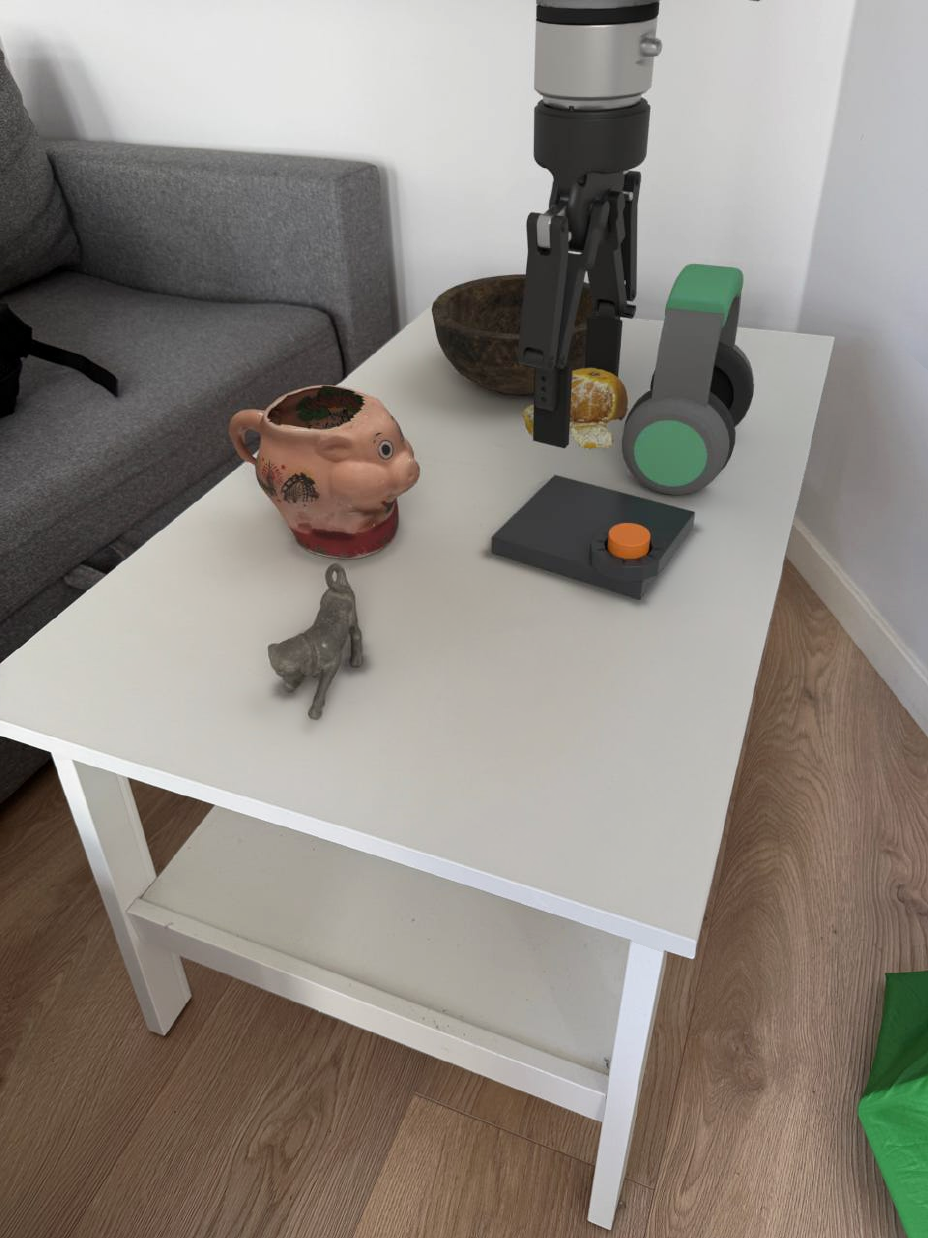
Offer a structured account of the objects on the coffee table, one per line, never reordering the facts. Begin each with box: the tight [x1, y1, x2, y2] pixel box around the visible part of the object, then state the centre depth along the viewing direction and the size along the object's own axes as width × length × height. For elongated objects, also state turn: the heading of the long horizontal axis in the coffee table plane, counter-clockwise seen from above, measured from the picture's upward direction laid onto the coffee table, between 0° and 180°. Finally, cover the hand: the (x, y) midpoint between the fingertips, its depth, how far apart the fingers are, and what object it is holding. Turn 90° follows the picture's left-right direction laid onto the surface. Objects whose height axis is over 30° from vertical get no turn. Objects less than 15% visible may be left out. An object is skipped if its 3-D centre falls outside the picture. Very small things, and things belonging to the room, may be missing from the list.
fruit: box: [522, 368, 629, 450], centre depth 72 cm, size 8×8×4 cm
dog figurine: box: [267, 562, 364, 721], centre depth 71 cm, size 12×6×7 cm, turn 164°
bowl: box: [431, 273, 598, 396], centre depth 112 cm, size 22×22×10 cm
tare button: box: [608, 523, 650, 559], centre depth 80 cm, size 4×4×2 cm
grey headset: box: [621, 263, 755, 496], centre depth 93 cm, size 19×11×20 cm, turn 157°
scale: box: [491, 474, 696, 600], centre depth 86 cm, size 16×14×4 cm
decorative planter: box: [227, 384, 421, 560], centre depth 85 cm, size 20×12×14 cm, turn 71°
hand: (576, 417), depth 73 cm, fingers closed on fruit, 8 cm apart
